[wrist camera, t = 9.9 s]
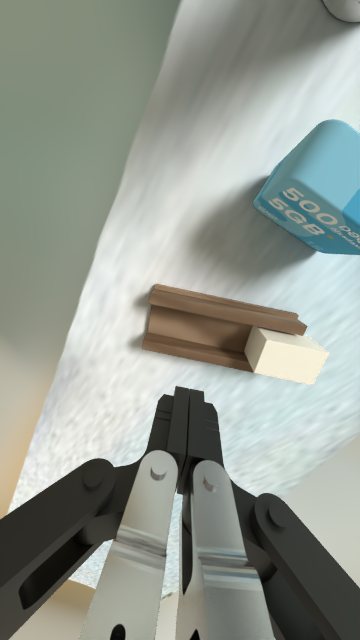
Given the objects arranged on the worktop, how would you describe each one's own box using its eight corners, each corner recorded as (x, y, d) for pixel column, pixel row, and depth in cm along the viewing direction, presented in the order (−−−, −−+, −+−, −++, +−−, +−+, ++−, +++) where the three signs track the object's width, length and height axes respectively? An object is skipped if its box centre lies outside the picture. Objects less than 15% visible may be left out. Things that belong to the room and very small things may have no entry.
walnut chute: (156, 283, 31) (150, 288, 27) (295, 313, 31) (309, 322, 28) (147, 340, 35) (141, 352, 31) (272, 367, 35) (282, 382, 31)
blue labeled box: (249, 205, 27) (288, 175, 16) (271, 169, 25) (332, 108, 14) (319, 253, 28) (402, 258, 17) (344, 223, 27) (453, 205, 16)
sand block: (253, 322, 31) (266, 339, 25) (304, 333, 31) (329, 352, 25) (243, 351, 33) (254, 372, 27) (292, 361, 33) (312, 385, 27)
